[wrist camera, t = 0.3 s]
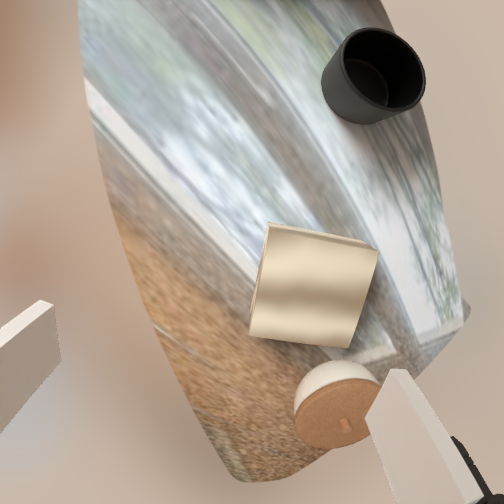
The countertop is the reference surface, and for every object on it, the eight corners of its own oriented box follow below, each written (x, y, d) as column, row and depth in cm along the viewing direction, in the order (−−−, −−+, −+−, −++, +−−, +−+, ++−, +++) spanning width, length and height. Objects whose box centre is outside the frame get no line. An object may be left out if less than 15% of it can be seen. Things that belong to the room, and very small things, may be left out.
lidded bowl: (270, 386, 41) (274, 440, 31) (331, 328, 39) (354, 377, 28) (327, 418, 43) (340, 467, 33) (384, 369, 41) (411, 415, 30)
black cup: (415, 116, 32) (454, 104, 23) (334, 131, 33) (359, 119, 24) (392, 51, 29) (424, 26, 21) (309, 61, 30) (325, 30, 22)
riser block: (267, 221, 36) (270, 230, 30) (361, 240, 36) (379, 252, 30) (249, 312, 39) (248, 335, 33) (336, 325, 39) (348, 348, 33)
